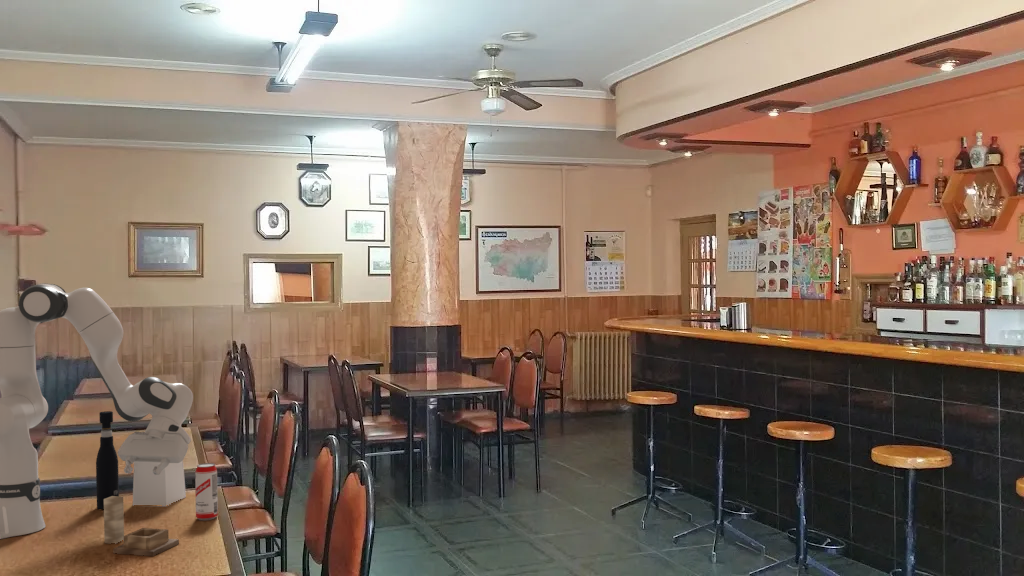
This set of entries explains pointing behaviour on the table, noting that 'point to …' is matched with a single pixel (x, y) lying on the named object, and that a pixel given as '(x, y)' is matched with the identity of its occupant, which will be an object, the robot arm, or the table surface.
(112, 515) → the beige rectangular block
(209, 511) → the beer can
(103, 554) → the table surface
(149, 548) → the wooden socket base
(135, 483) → the milk
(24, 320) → the robot arm
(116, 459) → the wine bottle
